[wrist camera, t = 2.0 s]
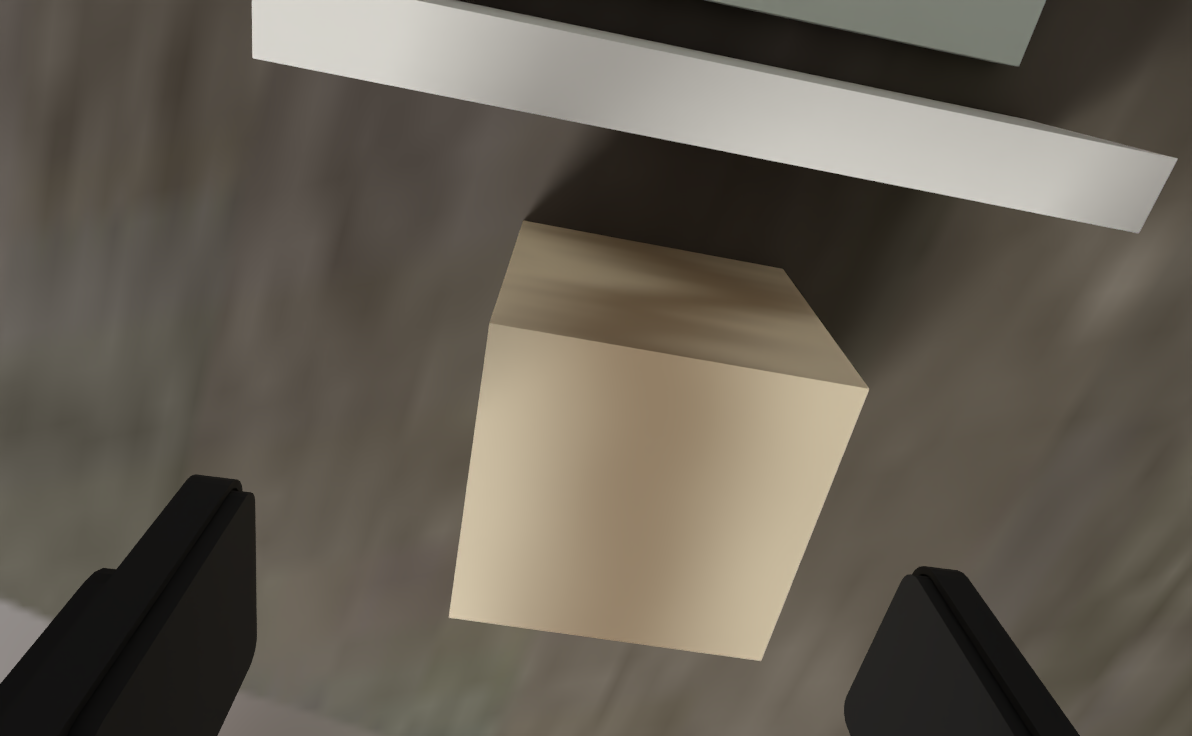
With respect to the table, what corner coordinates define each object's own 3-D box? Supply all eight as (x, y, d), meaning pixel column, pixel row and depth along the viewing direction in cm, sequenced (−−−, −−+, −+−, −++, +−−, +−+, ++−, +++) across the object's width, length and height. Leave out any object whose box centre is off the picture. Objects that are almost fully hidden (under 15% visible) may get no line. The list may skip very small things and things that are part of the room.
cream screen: (1025, 119, 15) (1178, 158, 11) (1000, 176, 16) (1139, 233, 12) (348, -23, 14) (251, -35, 10) (345, 44, 15) (252, 58, 11)
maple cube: (782, 267, 17) (869, 389, 12) (713, 485, 20) (758, 666, 14) (523, 219, 16) (489, 322, 11) (489, 449, 19) (447, 623, 14)
